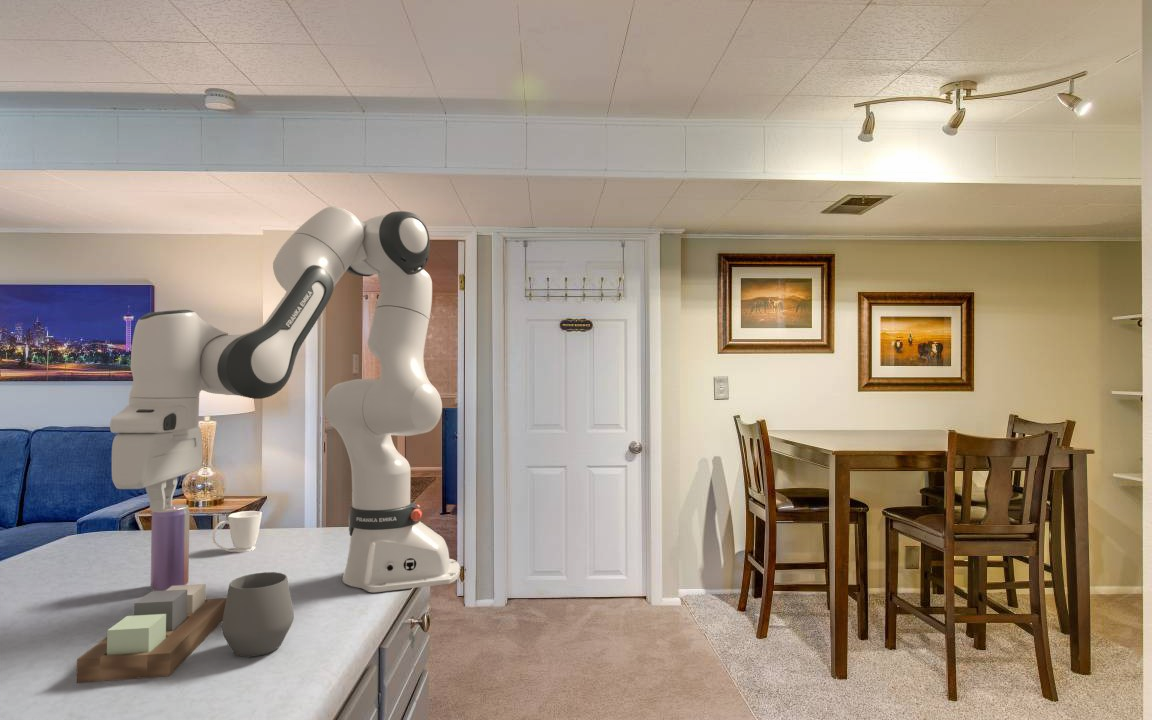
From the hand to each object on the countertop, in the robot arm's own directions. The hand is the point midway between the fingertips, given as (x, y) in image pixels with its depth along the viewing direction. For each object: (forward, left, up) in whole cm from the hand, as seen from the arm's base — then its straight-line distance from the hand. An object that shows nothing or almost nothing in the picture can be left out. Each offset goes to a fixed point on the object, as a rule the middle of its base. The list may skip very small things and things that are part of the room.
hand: (161, 510), depth 94 cm
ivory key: (-1, -7, -19) cm, 20 cm away
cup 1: (+5, -51, -20) cm, 55 cm away
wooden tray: (-1, 0, -20) cm, 20 cm away
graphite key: (-1, 0, -17) cm, 17 cm away
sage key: (-1, +7, -18) cm, 20 cm away
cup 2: (-15, +4, -20) cm, 25 cm away
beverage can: (+9, -27, -20) cm, 35 cm away
